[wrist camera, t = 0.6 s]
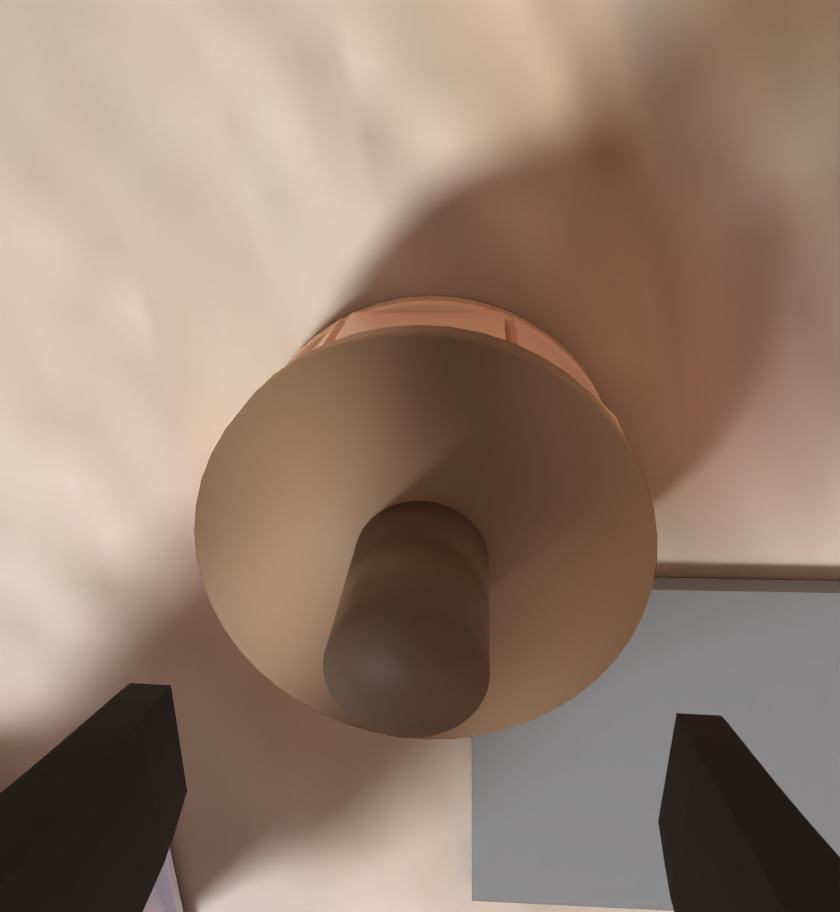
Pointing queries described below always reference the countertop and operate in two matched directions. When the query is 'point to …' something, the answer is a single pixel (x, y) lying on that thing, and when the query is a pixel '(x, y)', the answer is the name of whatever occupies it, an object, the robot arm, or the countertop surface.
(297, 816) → the countertop surface
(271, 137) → the countertop surface
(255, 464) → the lid
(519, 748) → the mat
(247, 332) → the countertop surface
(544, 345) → the bowl
